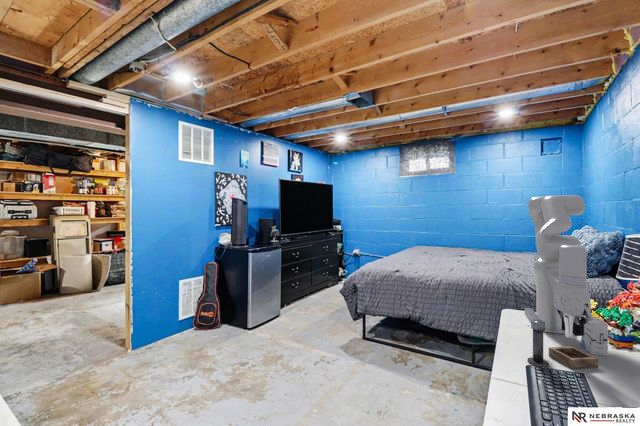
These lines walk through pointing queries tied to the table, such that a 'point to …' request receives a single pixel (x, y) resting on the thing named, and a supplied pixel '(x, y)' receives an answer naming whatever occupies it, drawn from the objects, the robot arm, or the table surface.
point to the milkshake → (569, 325)
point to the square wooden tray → (573, 357)
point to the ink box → (595, 337)
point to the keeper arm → (534, 320)
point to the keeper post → (538, 350)
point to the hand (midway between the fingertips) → (572, 332)
